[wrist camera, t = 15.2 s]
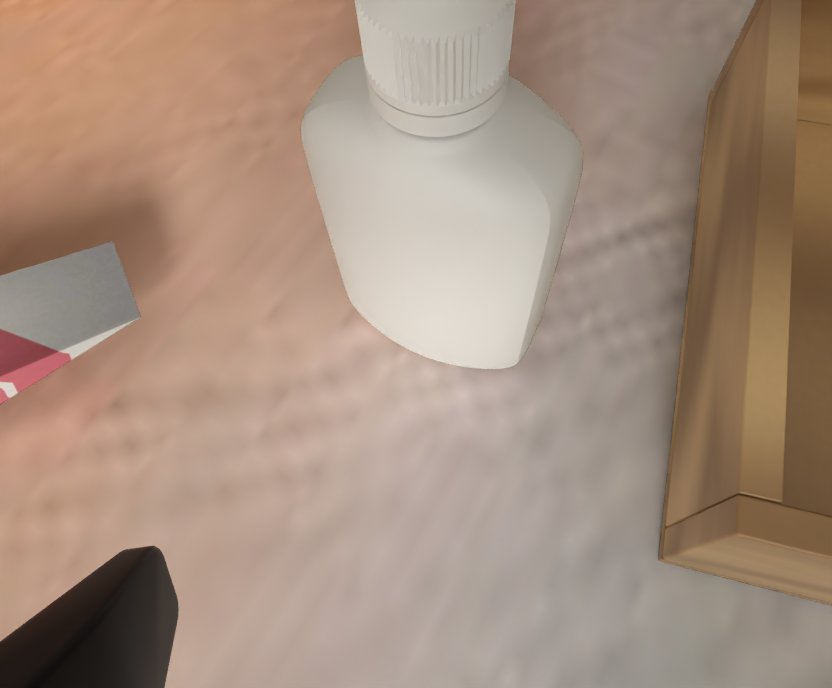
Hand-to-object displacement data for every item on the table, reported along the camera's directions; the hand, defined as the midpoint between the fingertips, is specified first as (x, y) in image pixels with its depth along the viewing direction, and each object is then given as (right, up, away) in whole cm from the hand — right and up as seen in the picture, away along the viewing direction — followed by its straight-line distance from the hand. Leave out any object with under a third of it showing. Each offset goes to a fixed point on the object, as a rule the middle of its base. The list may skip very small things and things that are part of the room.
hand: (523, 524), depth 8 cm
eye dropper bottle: (0, +3, +11) cm, 12 cm away
